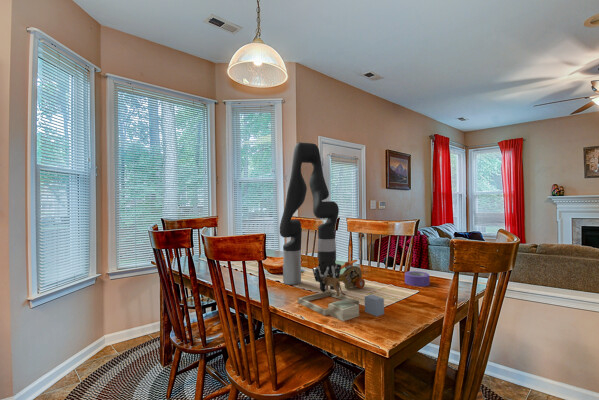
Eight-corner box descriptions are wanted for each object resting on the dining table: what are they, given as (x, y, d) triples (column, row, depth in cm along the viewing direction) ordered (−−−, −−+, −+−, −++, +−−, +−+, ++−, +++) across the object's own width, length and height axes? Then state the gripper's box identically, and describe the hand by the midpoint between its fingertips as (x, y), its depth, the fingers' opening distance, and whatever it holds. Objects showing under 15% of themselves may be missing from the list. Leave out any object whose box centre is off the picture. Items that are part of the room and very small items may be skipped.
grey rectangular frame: (297, 302, 127) (297, 292, 127) (330, 294, 137) (330, 285, 137) (338, 322, 105) (338, 310, 105) (374, 311, 115) (373, 300, 115)
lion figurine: (312, 291, 126) (312, 269, 126) (320, 288, 130) (319, 267, 130) (342, 298, 117) (341, 275, 117) (349, 294, 121) (349, 272, 121)
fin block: (364, 311, 115) (364, 296, 115) (372, 309, 117) (371, 294, 118) (376, 316, 110) (376, 300, 110) (384, 314, 112) (383, 298, 113)
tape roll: (433, 286, 147) (433, 276, 147) (409, 287, 147) (409, 276, 147) (424, 280, 159) (423, 270, 159) (401, 280, 159) (401, 271, 159)
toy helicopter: (366, 287, 147) (366, 259, 147) (333, 295, 136) (332, 265, 136) (355, 284, 154) (355, 257, 154) (322, 290, 143) (322, 262, 143)
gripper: (334, 246, 132) (334, 285, 132) (307, 250, 124) (308, 291, 124) (345, 248, 125) (346, 289, 125) (318, 252, 117) (319, 296, 117)
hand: (327, 290), depth 124 cm, fingers closed on lion figurine, 4 cm apart
